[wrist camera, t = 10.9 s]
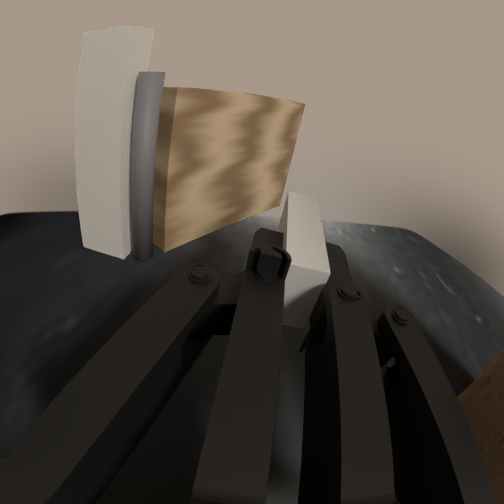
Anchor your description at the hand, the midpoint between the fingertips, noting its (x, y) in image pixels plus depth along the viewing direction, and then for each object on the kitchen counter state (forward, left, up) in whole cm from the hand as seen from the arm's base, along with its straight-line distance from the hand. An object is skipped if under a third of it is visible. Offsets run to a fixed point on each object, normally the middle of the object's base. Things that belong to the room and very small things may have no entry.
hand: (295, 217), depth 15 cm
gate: (-6, +10, -6) cm, 13 cm away
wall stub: (-13, +2, -6) cm, 15 cm away
